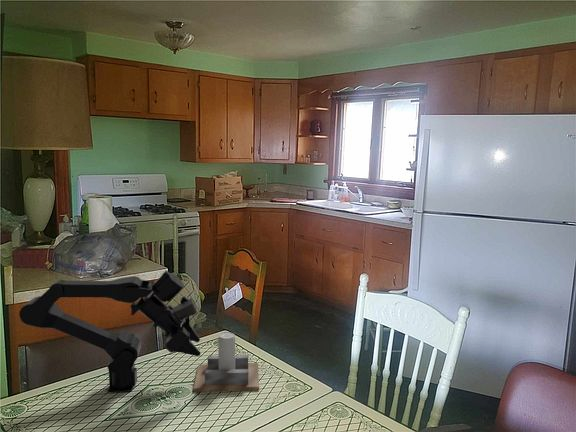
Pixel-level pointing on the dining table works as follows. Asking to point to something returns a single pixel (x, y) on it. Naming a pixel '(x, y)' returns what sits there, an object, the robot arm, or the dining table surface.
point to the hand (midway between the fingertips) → (199, 347)
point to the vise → (227, 376)
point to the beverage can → (226, 351)
